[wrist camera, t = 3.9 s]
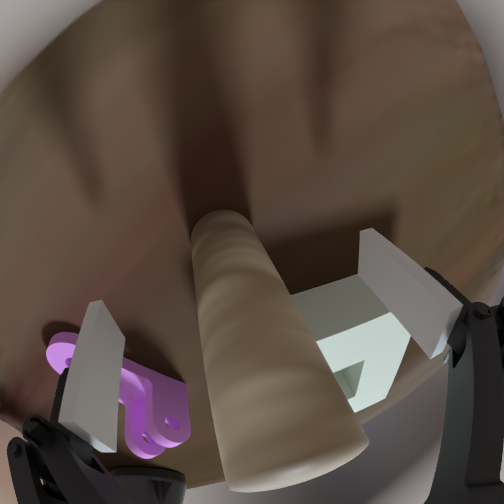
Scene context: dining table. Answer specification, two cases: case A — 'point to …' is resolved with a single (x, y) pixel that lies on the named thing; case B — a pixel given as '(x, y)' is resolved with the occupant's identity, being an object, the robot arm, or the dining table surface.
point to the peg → (264, 366)
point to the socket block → (355, 337)
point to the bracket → (139, 401)
